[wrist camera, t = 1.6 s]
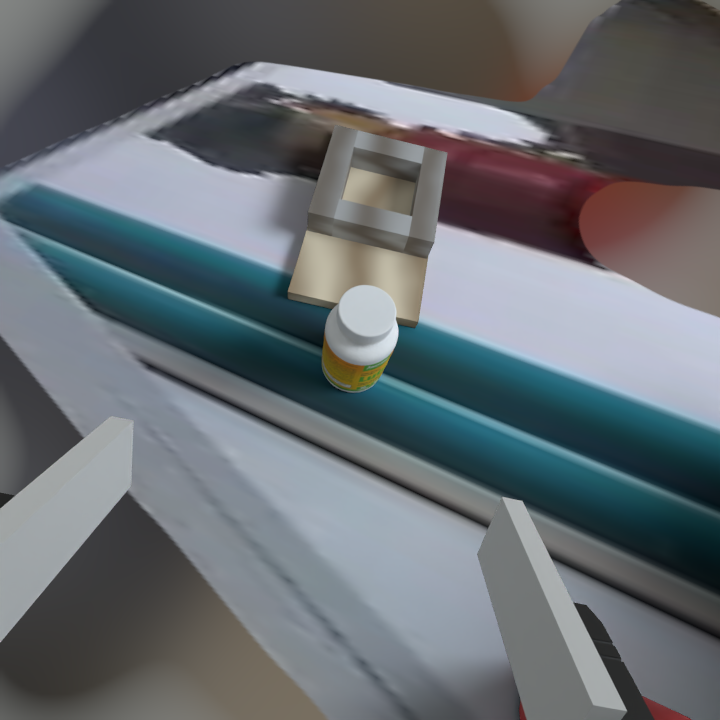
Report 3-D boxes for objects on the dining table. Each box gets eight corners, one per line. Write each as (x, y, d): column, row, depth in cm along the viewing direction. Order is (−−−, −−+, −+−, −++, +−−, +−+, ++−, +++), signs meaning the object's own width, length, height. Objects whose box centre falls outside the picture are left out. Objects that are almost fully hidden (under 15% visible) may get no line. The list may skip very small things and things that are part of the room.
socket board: (440, 161, 48) (451, 132, 45) (414, 327, 39) (425, 308, 36) (337, 135, 47) (340, 104, 44) (288, 298, 39) (286, 275, 35)
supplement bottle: (357, 406, 35) (376, 362, 27) (308, 368, 36) (310, 312, 27) (394, 361, 38) (422, 306, 29) (346, 326, 38) (360, 261, 29)
